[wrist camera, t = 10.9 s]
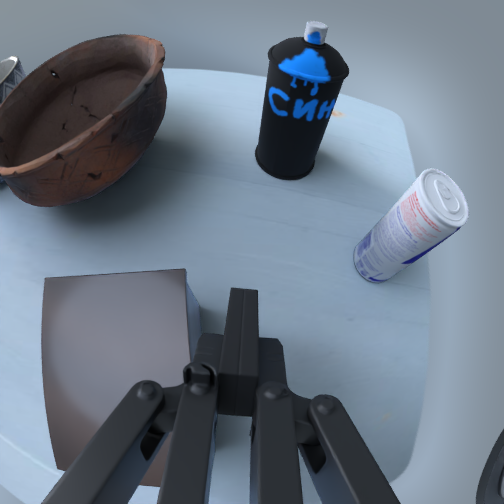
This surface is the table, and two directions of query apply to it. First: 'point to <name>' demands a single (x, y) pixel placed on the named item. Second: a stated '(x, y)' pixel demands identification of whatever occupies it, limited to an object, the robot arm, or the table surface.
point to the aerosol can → (298, 102)
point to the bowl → (82, 119)
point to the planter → (9, 78)
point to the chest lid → (109, 351)
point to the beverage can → (412, 226)
